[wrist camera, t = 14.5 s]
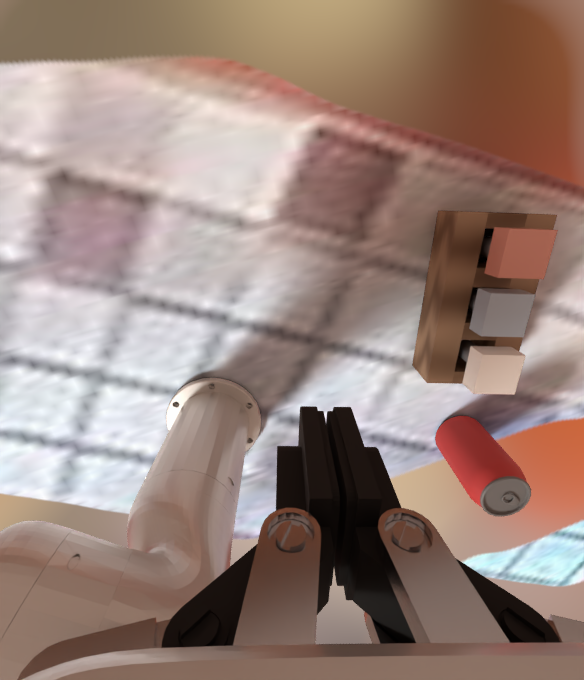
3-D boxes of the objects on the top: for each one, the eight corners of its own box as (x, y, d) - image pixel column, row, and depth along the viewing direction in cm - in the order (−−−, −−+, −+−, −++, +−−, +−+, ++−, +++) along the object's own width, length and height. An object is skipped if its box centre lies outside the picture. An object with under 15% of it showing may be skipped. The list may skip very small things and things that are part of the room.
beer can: (459, 459, 52) (507, 528, 41) (424, 440, 51) (464, 506, 40) (489, 426, 50) (549, 489, 39) (453, 405, 49) (505, 465, 38)
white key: (477, 364, 44) (514, 394, 37) (443, 364, 44) (473, 393, 37) (485, 331, 42) (525, 355, 36) (449, 330, 42) (482, 354, 35)
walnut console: (487, 366, 47) (509, 384, 42) (412, 365, 46) (426, 382, 42) (525, 213, 40) (557, 214, 36) (438, 210, 40) (458, 211, 35)
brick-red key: (498, 266, 40) (543, 279, 33) (460, 265, 40) (497, 277, 33) (508, 225, 39) (557, 230, 32) (468, 224, 39) (509, 228, 32)
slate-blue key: (484, 316, 43) (523, 337, 36) (448, 315, 43) (480, 336, 36) (492, 279, 41) (535, 294, 34) (455, 278, 41) (491, 293, 34)
